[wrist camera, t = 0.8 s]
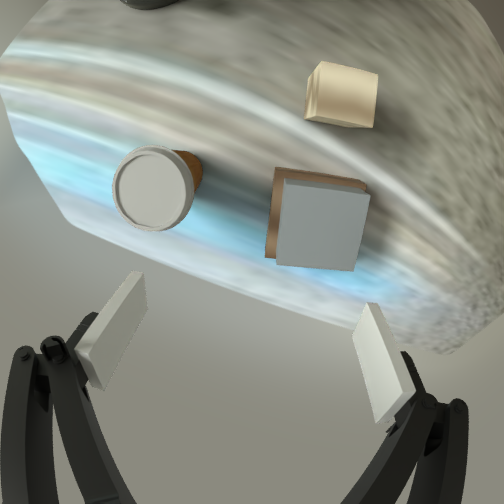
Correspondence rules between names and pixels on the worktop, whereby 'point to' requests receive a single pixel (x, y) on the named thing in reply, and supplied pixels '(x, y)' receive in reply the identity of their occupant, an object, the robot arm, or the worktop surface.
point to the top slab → (320, 225)
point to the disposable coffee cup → (156, 187)
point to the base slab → (278, 191)
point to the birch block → (341, 96)
